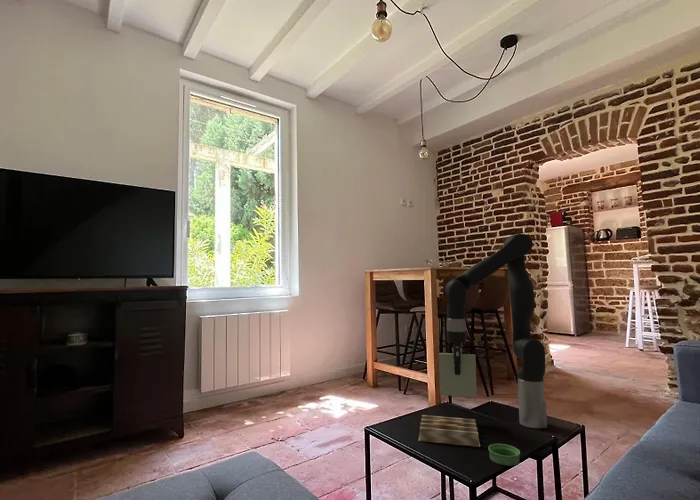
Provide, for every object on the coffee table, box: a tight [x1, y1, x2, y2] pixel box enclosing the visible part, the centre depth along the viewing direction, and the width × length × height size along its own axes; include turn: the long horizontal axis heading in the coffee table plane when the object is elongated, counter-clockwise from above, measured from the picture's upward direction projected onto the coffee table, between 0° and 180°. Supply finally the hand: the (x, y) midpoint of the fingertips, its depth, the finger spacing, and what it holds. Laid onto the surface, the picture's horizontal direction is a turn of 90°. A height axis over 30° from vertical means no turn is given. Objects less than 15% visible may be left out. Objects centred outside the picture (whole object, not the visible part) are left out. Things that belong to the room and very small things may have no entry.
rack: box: [417, 414, 481, 448], centre depth 131 cm, size 20×14×6 cm
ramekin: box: [488, 443, 521, 467], centre depth 113 cm, size 9×9×4 cm
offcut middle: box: [439, 419, 463, 426], centre depth 131 cm, size 8×2×5 cm, turn 76°
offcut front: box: [433, 422, 458, 430], centre depth 128 cm, size 8×2×5 cm, turn 76°
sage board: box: [438, 352, 478, 398], centre depth 149 cm, size 14×2×16 cm, turn 76°
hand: (457, 373), depth 149 cm, fingers closed on sage board, 2 cm apart
